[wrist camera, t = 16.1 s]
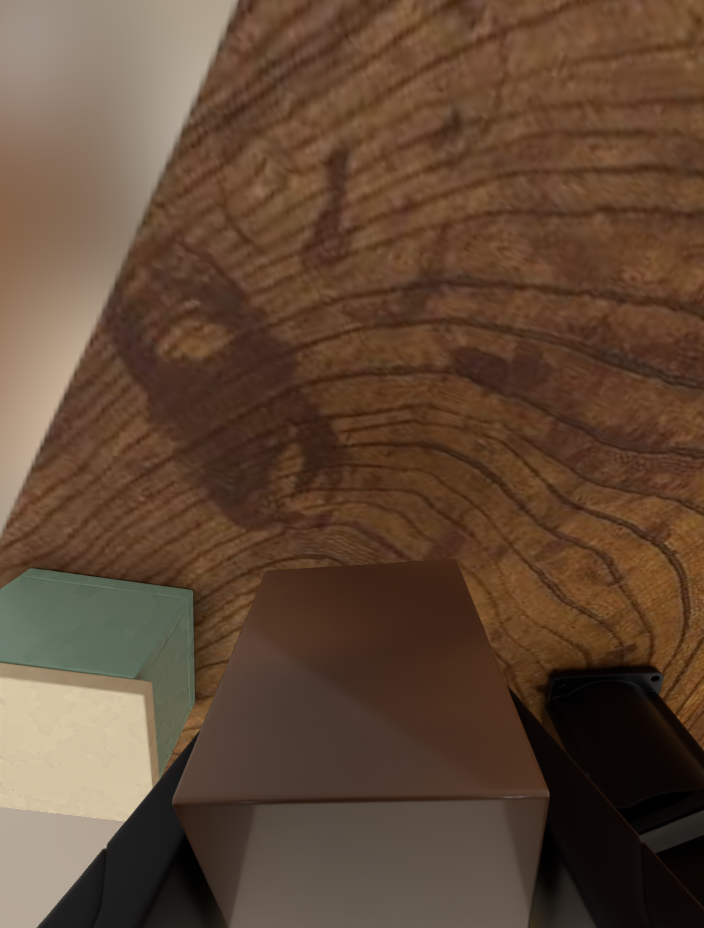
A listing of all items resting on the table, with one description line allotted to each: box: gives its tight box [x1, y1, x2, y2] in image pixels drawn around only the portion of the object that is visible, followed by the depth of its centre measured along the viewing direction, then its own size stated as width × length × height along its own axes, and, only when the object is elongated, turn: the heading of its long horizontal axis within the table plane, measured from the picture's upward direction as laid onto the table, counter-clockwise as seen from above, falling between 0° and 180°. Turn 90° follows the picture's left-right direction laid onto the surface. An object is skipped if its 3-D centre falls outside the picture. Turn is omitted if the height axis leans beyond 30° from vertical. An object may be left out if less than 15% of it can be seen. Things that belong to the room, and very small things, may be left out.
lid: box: [0, 663, 160, 821], centre depth 17 cm, size 10×10×1 cm
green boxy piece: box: [0, 568, 195, 779], centre depth 20 cm, size 10×10×6 cm
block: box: [172, 559, 550, 928], centre depth 7 cm, size 4×4×4 cm
